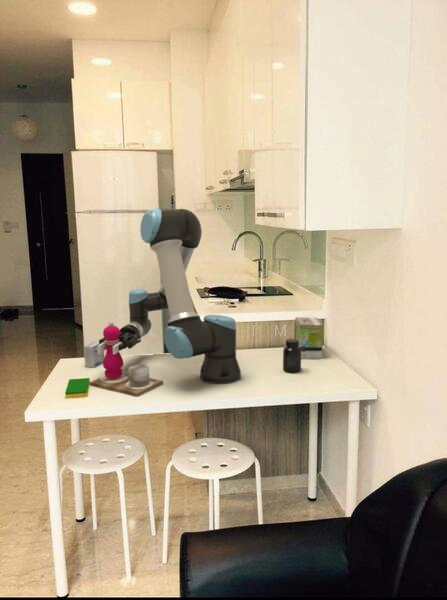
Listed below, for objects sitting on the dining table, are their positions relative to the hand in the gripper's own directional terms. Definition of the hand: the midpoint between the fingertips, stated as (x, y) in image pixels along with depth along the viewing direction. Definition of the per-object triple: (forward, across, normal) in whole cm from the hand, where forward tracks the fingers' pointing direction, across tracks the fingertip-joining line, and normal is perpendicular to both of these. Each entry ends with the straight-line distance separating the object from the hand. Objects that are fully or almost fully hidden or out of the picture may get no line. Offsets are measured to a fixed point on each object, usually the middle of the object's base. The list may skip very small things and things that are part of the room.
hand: (106, 350), depth 176 cm
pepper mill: (-5, 0, -11) cm, 12 cm away
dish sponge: (+5, +9, -14) cm, 17 cm away
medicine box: (-23, +16, -14) cm, 31 cm away
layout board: (-3, -6, -14) cm, 15 cm away
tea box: (-52, -68, -14) cm, 87 cm away
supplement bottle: (-29, -63, -14) cm, 70 cm away
